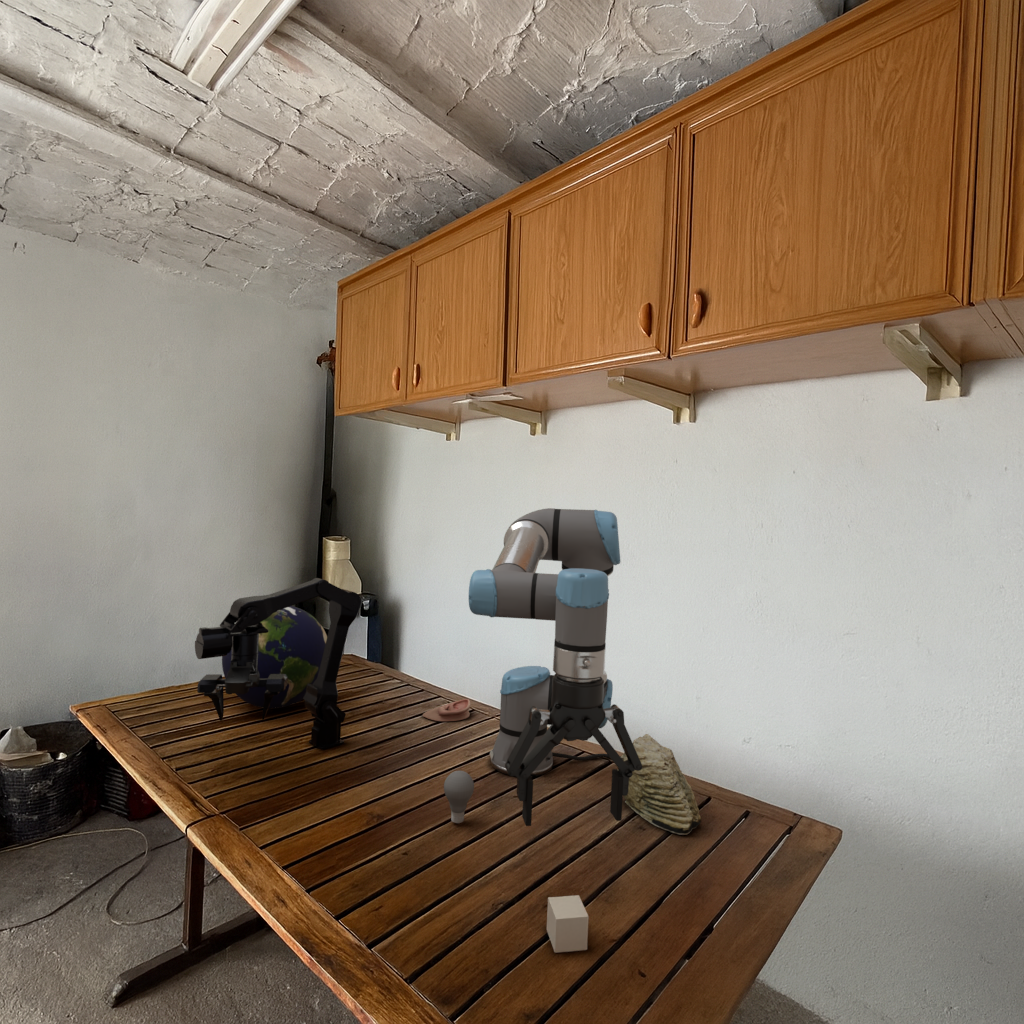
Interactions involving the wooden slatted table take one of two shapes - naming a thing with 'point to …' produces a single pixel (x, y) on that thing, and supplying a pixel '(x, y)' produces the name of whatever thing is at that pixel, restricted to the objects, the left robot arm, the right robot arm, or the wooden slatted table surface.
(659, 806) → the fossil
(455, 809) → the light bulb
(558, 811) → the wooden slatted table surface
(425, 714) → the anatomical model
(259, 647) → the globe
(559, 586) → the right robot arm
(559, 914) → the block
